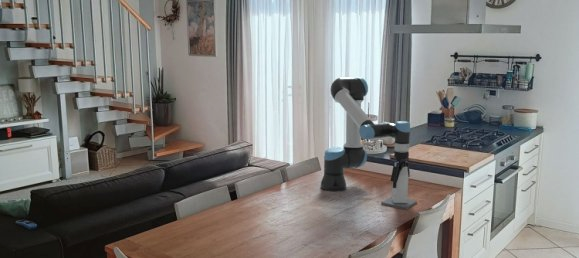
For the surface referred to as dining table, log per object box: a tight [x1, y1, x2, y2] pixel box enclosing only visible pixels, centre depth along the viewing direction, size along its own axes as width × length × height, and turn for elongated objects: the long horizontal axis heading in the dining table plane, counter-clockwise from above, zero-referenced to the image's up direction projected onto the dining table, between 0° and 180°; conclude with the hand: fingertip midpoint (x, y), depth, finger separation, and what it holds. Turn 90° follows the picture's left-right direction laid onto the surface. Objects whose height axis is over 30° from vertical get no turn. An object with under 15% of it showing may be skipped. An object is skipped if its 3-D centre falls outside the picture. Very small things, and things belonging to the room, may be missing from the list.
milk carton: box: [391, 167, 409, 203], centre depth 278 cm, size 7×7×19 cm
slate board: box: [381, 196, 418, 211], centre depth 280 cm, size 14×14×1 cm
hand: (399, 191), depth 279 cm, fingers open, 11 cm apart
